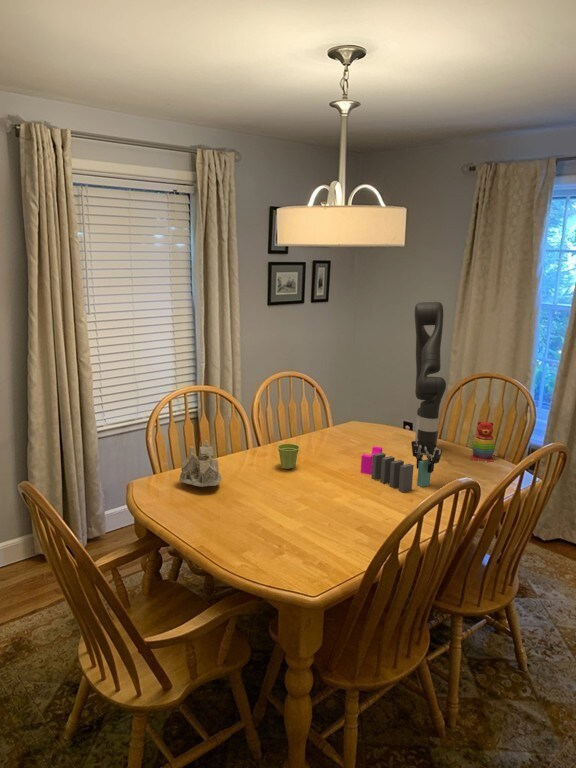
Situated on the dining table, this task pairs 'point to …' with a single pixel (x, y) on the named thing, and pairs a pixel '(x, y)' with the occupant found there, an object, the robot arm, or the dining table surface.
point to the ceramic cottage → (200, 468)
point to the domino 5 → (423, 474)
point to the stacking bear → (483, 443)
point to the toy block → (369, 460)
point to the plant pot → (288, 455)
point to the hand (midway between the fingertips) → (424, 470)
